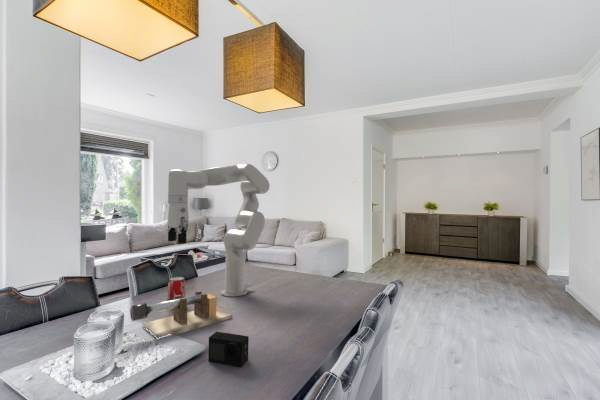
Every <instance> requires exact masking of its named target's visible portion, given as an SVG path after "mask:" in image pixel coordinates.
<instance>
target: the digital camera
mask: <svg viewBox="0 0 600 400" xmlns="http://www.w3.org/2000/svg"><path fill="white" fill-rule="evenodd" d="M248 361H249V336H248V335H243V334H242V335H241V334H236V333H235V334H234V333H229V332H223V331H215V332H214V333H212V334H211V335H210V336H208V363H213V364H219V365H225V366H229V367H236V368H240V369H242V368H243V366H244V365H245V364H247V362H248Z"/></svg>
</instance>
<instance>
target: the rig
mask: <svg viewBox="0 0 600 400" xmlns="http://www.w3.org/2000/svg"><path fill="white" fill-rule="evenodd" d="M202 292H203V291H201V290H197V291H195V293H194V294H195V295H199V294H201V302H200V303H196V304H193V308H194V309H193V310H191V311H188V309H187V307H188V305H187V298H182V299H180V298H181V295H177V296H175V299H180V307H179V308H174V309H173V315H172V316H167V317H163V318H159V319H155V320H152V321H148V322H147V321H146V322H142V326H143V325H144V326H145V327H146V328H147V329H148V330H150V331H151V332H152V333H153V334H154V335H155V336H156V337H157V338H159V337H162V336H166V335H168V334H171V335H172V336H174V335H175V336H177V335H178V334H182V333H185V332H189V331H192V330H195V329H200V328H203V327H206V326H210V325H212V324H215V323H219V322H222V321H223V322H224V321H227V320H230V319H233V314H231V313H229V312H228V311H225V310H223V309H222V308H219V307H218V306H216V316H213V317H208V304H207V293H202Z"/></svg>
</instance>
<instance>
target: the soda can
mask: <svg viewBox="0 0 600 400" xmlns="http://www.w3.org/2000/svg"><path fill="white" fill-rule="evenodd" d="M177 295H181V298H185V297H186V280H185V277H183V276H173V277H170V278H169V281H168V283H167V301H171V300H175V296H177Z"/></svg>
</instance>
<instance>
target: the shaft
mask: <svg viewBox="0 0 600 400" xmlns="http://www.w3.org/2000/svg"><path fill="white" fill-rule="evenodd" d="M185 298H187V306H191V305H194V304H196V303H200V302H201V294H199V295H189V296H185ZM180 299H182V298H180ZM180 299H175V300H171V301H168V300H166V301H161V302H157V303H152V304H147V303H146V302H145V303H144V302H143V303H138V304H134V305H131V306H130V309H129V312H130V319H131V321H132V322H135V321H139V320H142V319H147V318H148V316H149V315H152V314H157V313H160V312H165V311H169V310H174V308H179V307H180Z"/></svg>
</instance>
